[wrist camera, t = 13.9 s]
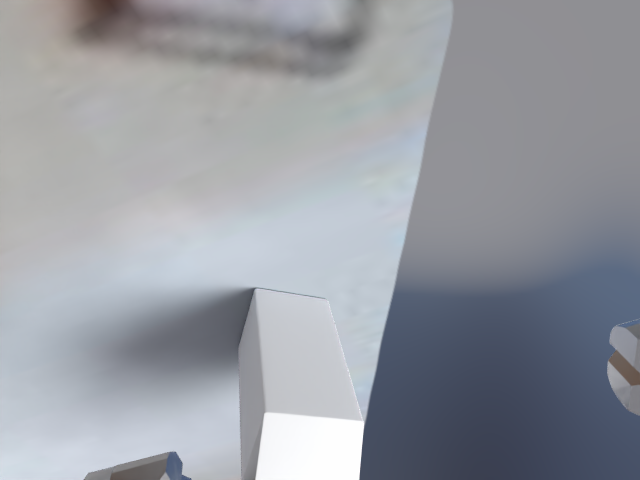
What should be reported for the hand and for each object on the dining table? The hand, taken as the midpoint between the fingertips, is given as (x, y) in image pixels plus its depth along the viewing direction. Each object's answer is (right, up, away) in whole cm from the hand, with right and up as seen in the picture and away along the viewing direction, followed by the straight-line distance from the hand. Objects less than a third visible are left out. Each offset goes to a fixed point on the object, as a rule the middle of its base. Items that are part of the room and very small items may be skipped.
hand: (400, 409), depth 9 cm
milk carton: (-5, -5, +40) cm, 41 cm away
